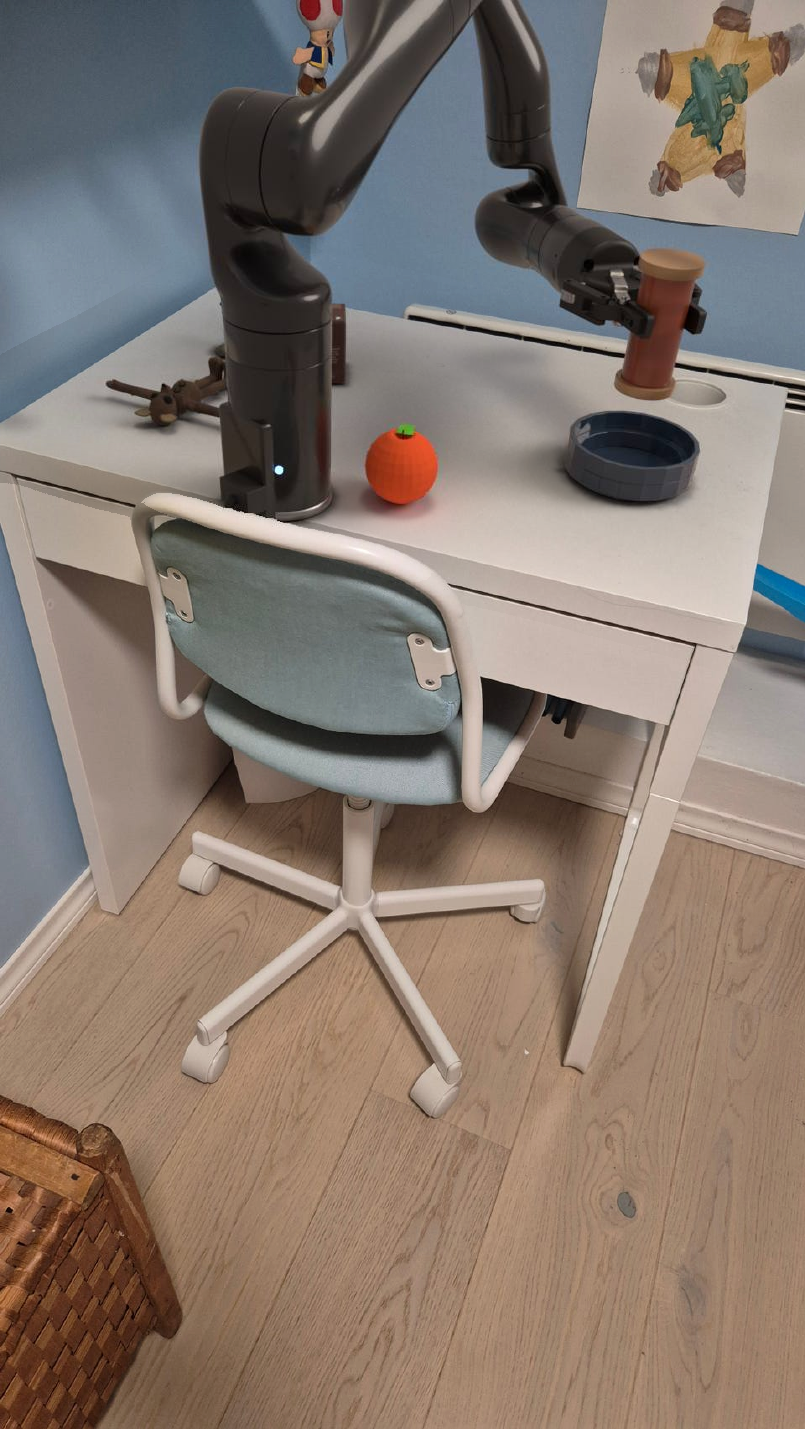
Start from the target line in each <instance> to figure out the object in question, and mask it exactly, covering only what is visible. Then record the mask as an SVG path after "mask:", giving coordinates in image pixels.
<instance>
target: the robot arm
mask: <svg viewBox="0 0 805 1429" xmlns="http://www.w3.org/2000/svg"><path fill="white" fill-rule="evenodd" d="M342 11H343V12H342V15H343V16H342V17H343V18H342V25H343V26H342V29H343V39H344V46H345V47H344V48H345V54H346V62H345V64H344V66H343V67H342V69H341V70H340V71H339V73H338V74H337V76H335V78H334V79H333V80H332V82H331V83H330V84H329V85H328V86H327V87H326V88H324V89H323V90H322V91H321V92H320V93H318V94H315V95H313V96H308V97H307V96H300V95H294V94H288V93H283V92H277V91H271V90H264V89H261V88H255V87H254V88H253V87H245V86H233V87H229V88H226V89H224V90H222V91H220V92H219V93H218V94H217V95H216V96H215V97H214V98H213V99H212V101H211V102H210V104H209V106H208V107H207V110H206V112H205V115H204V118H203V121H202V125H201V129H200V130H201V131H200V135H199V143H198V144H199V145H198V174H199V186H200V195H201V204H202V211H203V218H204V219H203V220H204V227H205V228H204V229H205V234H206V235H205V236H206V244H207V252H208V260H209V268H210V274H211V277H212V281H213V283H214V285H215V289H216V291H217V293H218V295H219V298H220V302H221V306H222V309H221V314H222V329H223V343H224V345H225V355H224V362H226V378H227V388H226V391H227V394H226V395H227V401H225V402H222V403H220V404H219V406H218V408H219V415H220V418H219V428H220V438H221V439H220V440H221V454H222V470H223V475H221V476H219V487H220V488H219V490H220V500H221V501H222V502H223V503H224V504H223V508H224V507H225V508H233V509H234V510H235V511H237V510H239V511H242V512H244V513H254V514H256V515H259V516H263V517H265V518H274V519H277V520H280V521H281V522H282V521H283V522H285V521H296V520H303V519H306V518H307V519H308V518H310V517H313V516H315V515H318V514H320V513H321V512H323V511H324V510H326V509H327V508H328V507H329V506H330V504H331V502H332V500H333V485H332V412H333V411H332V410H333V409H332V408H333V406H332V405H333V404H332V395H333V394H332V392H333V391H332V390H333V389H332V388H333V387H332V386H333V385H332V384H333V383H332V303H333V290H332V286H331V283H330V281H329V279H328V278H327V277H326V276H325V275H324V274H323V273H322V272H321V271H320V270H319V269H318V268H316V267H315V266H313V265H312V264H311V263H310V262H308V260H307V259H305V258H304V257H303V256H302V255H301V254H300V253H299V252H298V251H297V250H296V249H295V247H294V246H293V245H292V243H291V242H290V240H289V238H288V237H287V235H291V236H294V237H307V238H308V237H309V238H310V237H317V236H321V235H323V234H325V233H327V232H328V231H329V230H330V229H332V228H333V227H334V226H335V225H336V224H337V223H338V222H339V220H341V218H342V217H343V215H344V214H345V212H346V211H347V210H348V209H349V207H350V206H351V203H352V202H353V200H354V199H355V197H356V195H357V193H358V191H359V190H360V188H361V187H362V185H363V183H364V181H365V179H366V177H367V175H369V174H368V173H369V172H370V170H371V169H372V167H373V164H374V162H376V159H377V157H378V156H379V154H380V152H381V150H382V148H383V147H384V144H385V143H386V141H387V139H388V137H389V136H390V134H391V132H392V130H393V129H394V127H395V126H396V124H397V123H398V122H399V120H400V118H401V116H402V115H403V113H404V112H405V111H406V109H407V107H408V106H409V104H410V103H411V101H412V100H413V98H414V97H415V96H416V94H417V92H418V91H419V89H420V88H421V87H422V85H423V84H424V82H425V81H426V80H427V78H428V77H429V76H430V75H431V73H432V72H433V71H434V69H435V68H436V67H437V66H438V64H439V63H440V62H441V61H442V60H443V58H445V56H446V55H447V53H448V52H449V51H450V49H451V48H452V46H453V45H454V43H456V40H457V39H458V38H459V36H460V35H461V34H462V32H463V31H464V30H465V28H466V26H467V25H468V23H469V22H470V20H472V22H473V28H474V33H475V38H476V45H477V50H478V57H479V65H480V73H481V84H482V98H483V100H482V101H483V114H484V115H483V117H484V131H485V145H486V154H487V158H488V160H489V161H490V163H491V164H492V165H493V166H495V167H496V168H499V169H502V170H503V169H504V170H527V173H528V178H527V179H528V180H526V181H523V182H520V183H516V184H512V185H509V186H505V187H502V188H500V189H495V190H493V191H491V192H488V194H486V195H485V196H484V197H483V198H482V199H481V200H480V202H479V203H478V205H477V207H476V209H475V213H474V230H475V234H476V238H477V240H478V243H479V244H480V246H481V247H482V249H483V250H484V251H485V252H486V253H487V254H488V255H489V256H490V257H491V258H493V259H494V260H496V261H498V262H499V263H503V264H505V265H509V266H513V267H516V268H520V269H525V270H531V271H534V272H536V273H537V274H539V275H540V276H541V277H542V278H544V279H545V280H546V281H547V282H548V283H549V284H550V286H551V287H552V288H553V289H554V290H555V291H556V292H558V293H559V294H560V297H559V298H560V299H559V304H558V306H559V308H561V309H563V310H564V311H567V312H569V313H570V314H573V315H575V316H577V317H578V318H580V319H582V320H585V321H586V322H589V323H590V324H592V325H595V326H599V327H600V326H604V325H606V322H611V324H612V325H613V326H615V327H617V328H620V327H622V328H625V329H627V330H628V331H629V333H630V332H632V333H634V334H635V335H636V336H638V337H639V338H640V339H649V338H650V337H651V334H652V329H653V325H654V315H653V314H652V313H651V312H649V311H648V310H647V309H645V308H644V307H642V306H641V305H639V304H638V303H637V302H636V300H637V295H638V290H639V285H640V280H641V276H642V271H640V270H639V268H638V262H639V258H640V254H641V253H640V252H639V251H638V249H637V247H636V246H635V245H634V244H633V243H632V242H630V241H629V240H627V239H625V238H624V237H623V236H621V235H619V234H617V233H616V232H614V231H613V230H611V229H610V228H608V227H606V226H605V225H603V224H601V222H598V221H596V220H594V219H591V218H587V217H586V216H584V215H582V214H580V212H577V211H576V210H574V209H573V208H571V207H569V203H568V199H567V195H566V192H565V189H564V185H563V183H562V178H561V175H560V172H559V167H558V164H557V159H556V155H555V150H554V144H553V138H552V101H551V100H552V99H551V98H552V97H551V96H552V95H551V94H552V93H551V78H550V77H551V76H550V71H549V65H548V62H547V58H546V55H545V51H544V48H543V46H542V44H541V41H540V39H539V37H538V35H537V33H536V31H535V29H534V27H533V25H532V23H531V21H530V19H529V16H528V15H527V13H526V11H525V9H524V8H523V5H522V4H521V1H520V0H344V2H343V10H342ZM286 234H287V235H286ZM702 294H703V289H702V288H701V287H700V286H699V285H698V284H697V283H696V282H695V285H694V289H693V293H692V297H691V301H690V305H689V309H688V313H687V318H686V322H685V326H684V331H686V332H688V333H689V334H690V335H692V336H693V335H701V334H702V333H703V331H704V328H705V324H706V320H707V316H708V311H707V310H706V309H704V308H703V307H701V306H699V304H700V299H701V297H702ZM221 306H220V307H221ZM239 511H238V512H239Z"/></svg>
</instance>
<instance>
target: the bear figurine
mask: <svg viewBox="0 0 805 1429" xmlns="http://www.w3.org/2000/svg"><path fill="white" fill-rule="evenodd" d="M207 366H208V369H209V375H206V376H204V377H203V378H199V379H196V380H195V381H191V380H186V379H184V378H181V379H179V380H177V381H176V382H175V383H173V385H172V387H171V386H170V385H168V384H167V383H161V386H160V389H159V390H160V391H159V390H155V389H150V388H145V387H141V386H136V385H133V384H129V383H126V382H121V381H120V380H117V379H115V378H113V379H112V380H111V379H110V380H107V381H106V382H105V386H106V387H107V388H108V389H110V390H113V391H116V392H119V393H123V394H128V395H130V396H132V397H139V398H142V399H145V400H149V401H150V402H149V406H148V407H147V408H146V407H145V408H140V409H138V410H136V411H134V415H136V416H138V417H142V418H146V417H149V416H150V418H151V420H152V422H153V423H154V424H157V425H159V426H164V427H165V426H166V427H167V426H170V425H171V424H172V423H175V422H176V421H178V416H177V415H183V414H185V413H187V412H190V413H196V414H198V415H200V414H201V415H206V416H210V417H215V418H218V419H220V415H219V406H214V405H211V404H208V403H204V402H202V400H204V399H206V398H209V397H210V396H212V395H217V394H218V393H219V392H220V391H225V390H227V378H226V362H225V360H224V359H223V358H219V356H212V357H209V358H208V360H207Z"/></svg>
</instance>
